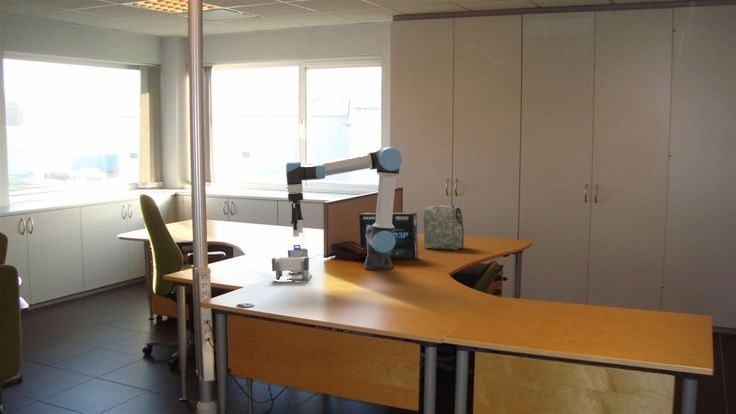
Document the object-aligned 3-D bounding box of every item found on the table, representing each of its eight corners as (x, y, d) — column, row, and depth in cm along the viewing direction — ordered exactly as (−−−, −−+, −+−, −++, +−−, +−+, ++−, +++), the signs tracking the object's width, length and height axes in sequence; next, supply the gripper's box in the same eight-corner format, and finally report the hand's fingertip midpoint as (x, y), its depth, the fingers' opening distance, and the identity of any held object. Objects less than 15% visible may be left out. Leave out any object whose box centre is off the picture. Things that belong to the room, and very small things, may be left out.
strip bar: (309, 268, 345) (308, 256, 345) (307, 270, 341) (307, 258, 340) (273, 269, 346) (273, 257, 346) (272, 271, 342) (271, 258, 342)
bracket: (311, 276, 349) (310, 257, 349) (308, 281, 338) (307, 261, 337) (276, 277, 351) (275, 258, 350) (272, 282, 339) (271, 262, 338)
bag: (465, 247, 430) (464, 203, 427) (454, 250, 416) (453, 206, 414) (433, 245, 442) (432, 203, 439) (422, 249, 428) (420, 205, 426)
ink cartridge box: (306, 270, 368) (304, 243, 367) (309, 272, 363) (308, 245, 362) (288, 272, 365) (287, 245, 363) (291, 274, 360) (290, 246, 358)
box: (360, 258, 400) (358, 213, 398) (365, 256, 407) (363, 212, 405) (414, 260, 388) (413, 213, 385) (419, 258, 395) (417, 212, 392)
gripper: (291, 191, 357) (294, 231, 359) (283, 195, 333) (286, 238, 335) (305, 190, 357) (308, 230, 359) (299, 194, 332) (302, 237, 334)
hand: (298, 234), depth 347 cm, fingers open, 13 cm apart
